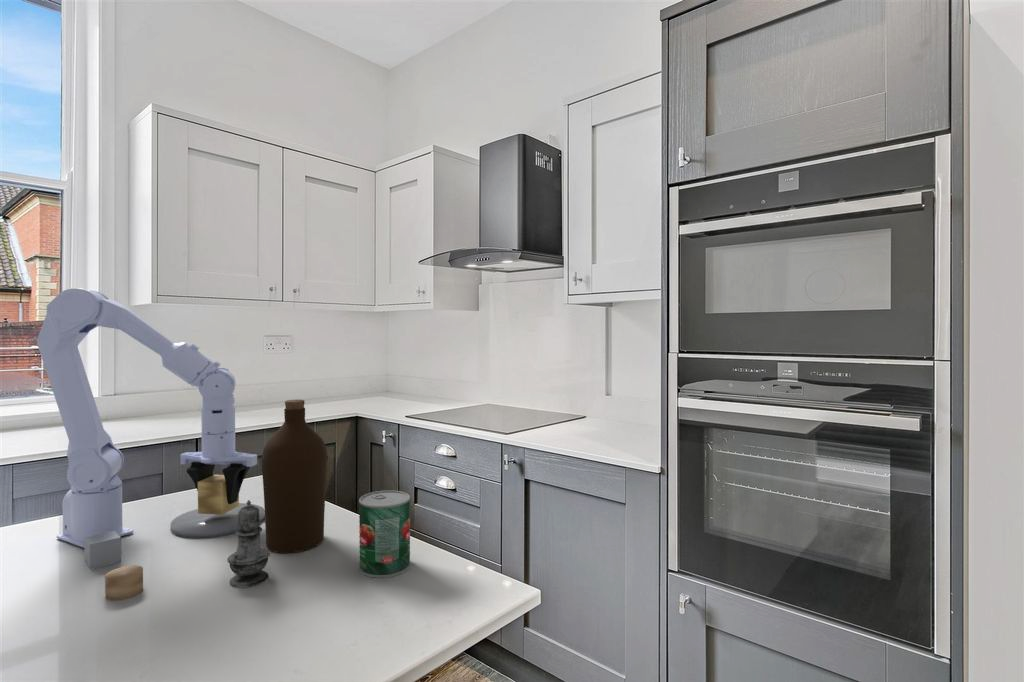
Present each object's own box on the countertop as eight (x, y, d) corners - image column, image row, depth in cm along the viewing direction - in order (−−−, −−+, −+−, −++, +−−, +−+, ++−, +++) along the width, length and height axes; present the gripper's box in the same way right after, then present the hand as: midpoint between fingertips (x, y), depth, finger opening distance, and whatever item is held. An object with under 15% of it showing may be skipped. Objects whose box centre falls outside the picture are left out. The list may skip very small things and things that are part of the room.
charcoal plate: (151, 527, 102) (151, 522, 102) (230, 503, 116) (230, 498, 116) (205, 544, 95) (205, 538, 95) (282, 515, 109) (282, 511, 109)
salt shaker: (253, 590, 78) (253, 507, 78) (217, 586, 80) (217, 504, 79) (278, 572, 84) (278, 495, 84) (245, 568, 85) (244, 492, 85)
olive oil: (292, 560, 89) (291, 406, 88) (248, 547, 93) (247, 402, 93) (340, 537, 98) (340, 399, 97) (297, 527, 103) (297, 395, 102)
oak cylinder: (98, 596, 77) (98, 575, 77) (132, 583, 81) (132, 563, 80) (115, 603, 75) (115, 582, 75) (149, 589, 79) (149, 569, 78)
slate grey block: (84, 562, 87) (84, 537, 87) (114, 554, 90) (114, 530, 90) (90, 569, 85) (89, 544, 85) (121, 561, 88) (120, 537, 88)
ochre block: (198, 513, 103) (197, 482, 103) (215, 504, 108) (214, 474, 108) (222, 514, 102) (222, 483, 102) (239, 505, 107) (238, 475, 107)
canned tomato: (420, 566, 87) (420, 497, 86) (377, 583, 81) (377, 509, 81) (391, 551, 92) (391, 487, 92) (349, 566, 86) (349, 497, 86)
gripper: (168, 434, 102) (169, 506, 102) (241, 437, 100) (242, 510, 101) (194, 427, 109) (194, 495, 109) (263, 429, 107) (263, 498, 108)
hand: (219, 501), depth 105 cm, fingers closed on ochre block, 5 cm apart
